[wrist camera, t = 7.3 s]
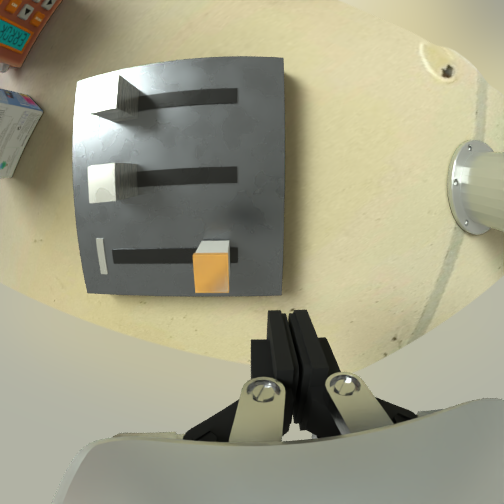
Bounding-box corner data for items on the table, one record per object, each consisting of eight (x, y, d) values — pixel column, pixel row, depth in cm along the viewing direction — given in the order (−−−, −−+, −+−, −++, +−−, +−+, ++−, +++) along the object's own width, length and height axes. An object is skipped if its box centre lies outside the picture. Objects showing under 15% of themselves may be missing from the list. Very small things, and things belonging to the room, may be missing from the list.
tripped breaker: (229, 239, 24) (227, 254, 20) (230, 271, 25) (228, 292, 20) (201, 240, 24) (192, 255, 19) (202, 271, 25) (195, 292, 20)
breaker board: (278, 69, 23) (292, 34, 15) (277, 283, 29) (289, 320, 21) (90, 87, 22) (51, 69, 14) (99, 282, 28) (65, 313, 20)
